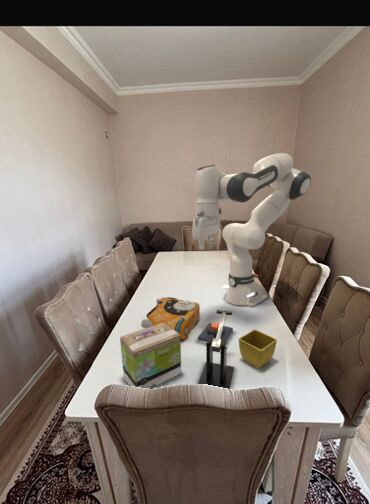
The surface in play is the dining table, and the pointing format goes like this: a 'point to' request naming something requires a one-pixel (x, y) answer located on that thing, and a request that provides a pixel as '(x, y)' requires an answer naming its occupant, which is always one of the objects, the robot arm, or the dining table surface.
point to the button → (215, 326)
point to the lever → (219, 331)
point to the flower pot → (257, 347)
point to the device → (174, 315)
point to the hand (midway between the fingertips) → (206, 246)
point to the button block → (214, 333)
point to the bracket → (216, 367)
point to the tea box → (151, 356)
